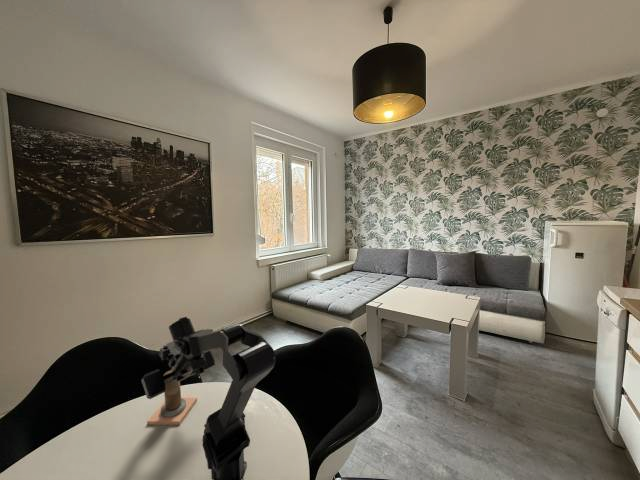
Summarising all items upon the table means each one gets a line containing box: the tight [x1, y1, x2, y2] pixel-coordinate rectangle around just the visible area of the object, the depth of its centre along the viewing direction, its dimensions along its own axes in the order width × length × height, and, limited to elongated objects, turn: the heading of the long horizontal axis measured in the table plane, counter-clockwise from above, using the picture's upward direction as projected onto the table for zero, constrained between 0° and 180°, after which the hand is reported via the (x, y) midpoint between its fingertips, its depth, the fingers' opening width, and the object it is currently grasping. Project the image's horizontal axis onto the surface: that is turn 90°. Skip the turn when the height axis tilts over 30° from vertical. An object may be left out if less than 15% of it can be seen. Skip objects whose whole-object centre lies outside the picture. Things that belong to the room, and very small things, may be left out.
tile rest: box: [146, 397, 198, 426], centre depth 80 cm, size 10×10×1 cm
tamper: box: [161, 369, 186, 418], centre depth 79 cm, size 7×7×12 cm
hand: (174, 382), depth 78 cm, fingers open, 9 cm apart
